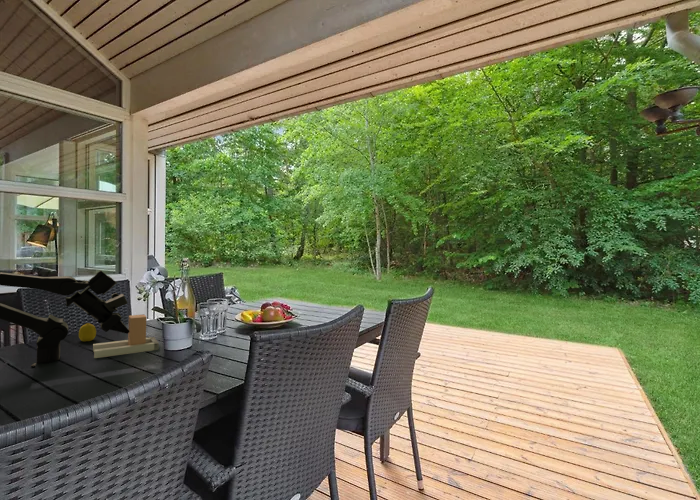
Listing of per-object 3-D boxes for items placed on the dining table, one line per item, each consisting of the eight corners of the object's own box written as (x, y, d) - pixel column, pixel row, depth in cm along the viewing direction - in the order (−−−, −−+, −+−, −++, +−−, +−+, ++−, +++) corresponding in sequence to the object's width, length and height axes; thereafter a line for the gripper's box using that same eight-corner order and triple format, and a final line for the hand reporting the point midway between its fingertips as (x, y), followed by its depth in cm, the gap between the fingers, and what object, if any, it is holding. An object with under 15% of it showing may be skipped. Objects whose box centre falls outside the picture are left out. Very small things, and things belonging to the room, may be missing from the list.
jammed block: (129, 351, 128) (130, 318, 128) (127, 347, 132) (128, 315, 132) (145, 349, 132) (146, 316, 131) (143, 345, 136) (144, 314, 135)
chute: (94, 361, 120) (94, 351, 120) (92, 353, 128) (93, 344, 128) (158, 352, 132) (158, 343, 132) (153, 345, 140) (153, 336, 140)
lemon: (88, 345, 136) (89, 324, 136) (74, 345, 137) (75, 324, 136) (99, 341, 142) (99, 321, 142) (85, 340, 142) (86, 320, 142)
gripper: (114, 291, 119) (151, 320, 126) (109, 284, 134) (142, 310, 141) (84, 316, 114) (124, 345, 121) (83, 306, 129) (118, 333, 136)
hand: (128, 332), depth 130 cm, fingers closed, pressing on jammed block
